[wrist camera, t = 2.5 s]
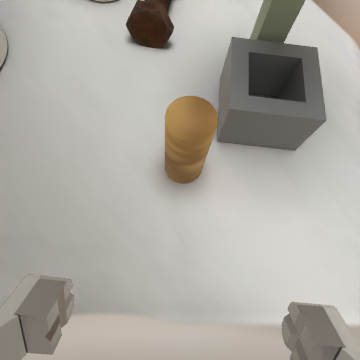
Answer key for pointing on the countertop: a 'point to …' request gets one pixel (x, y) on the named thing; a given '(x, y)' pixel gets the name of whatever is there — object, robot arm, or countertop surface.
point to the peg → (188, 137)
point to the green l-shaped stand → (276, 20)
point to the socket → (270, 94)
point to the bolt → (150, 23)
